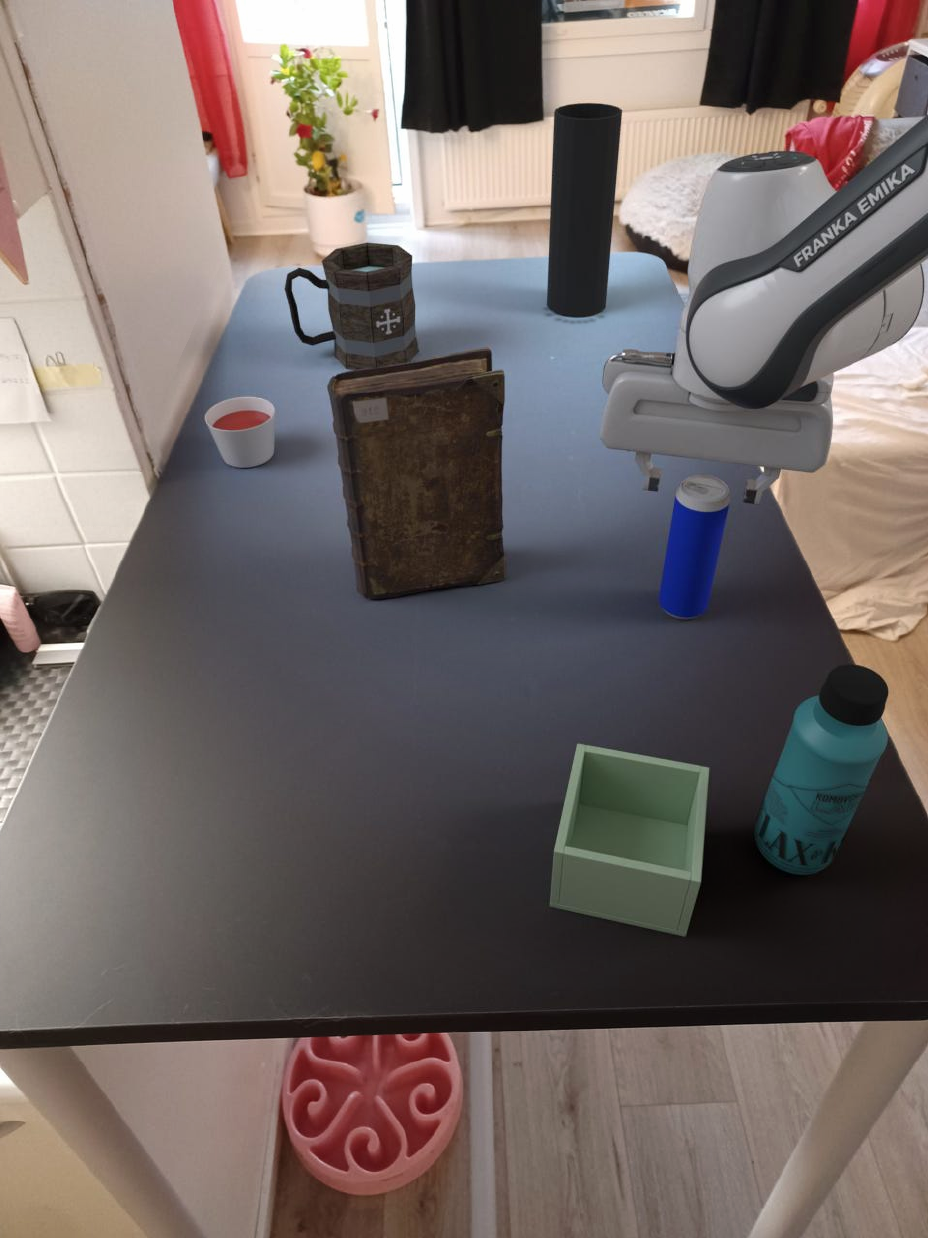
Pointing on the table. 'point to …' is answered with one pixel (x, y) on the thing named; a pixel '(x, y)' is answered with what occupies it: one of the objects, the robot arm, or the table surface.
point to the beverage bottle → (823, 771)
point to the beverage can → (693, 545)
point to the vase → (582, 207)
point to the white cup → (243, 430)
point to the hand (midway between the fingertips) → (700, 494)
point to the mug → (365, 305)
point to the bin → (631, 839)
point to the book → (422, 472)
